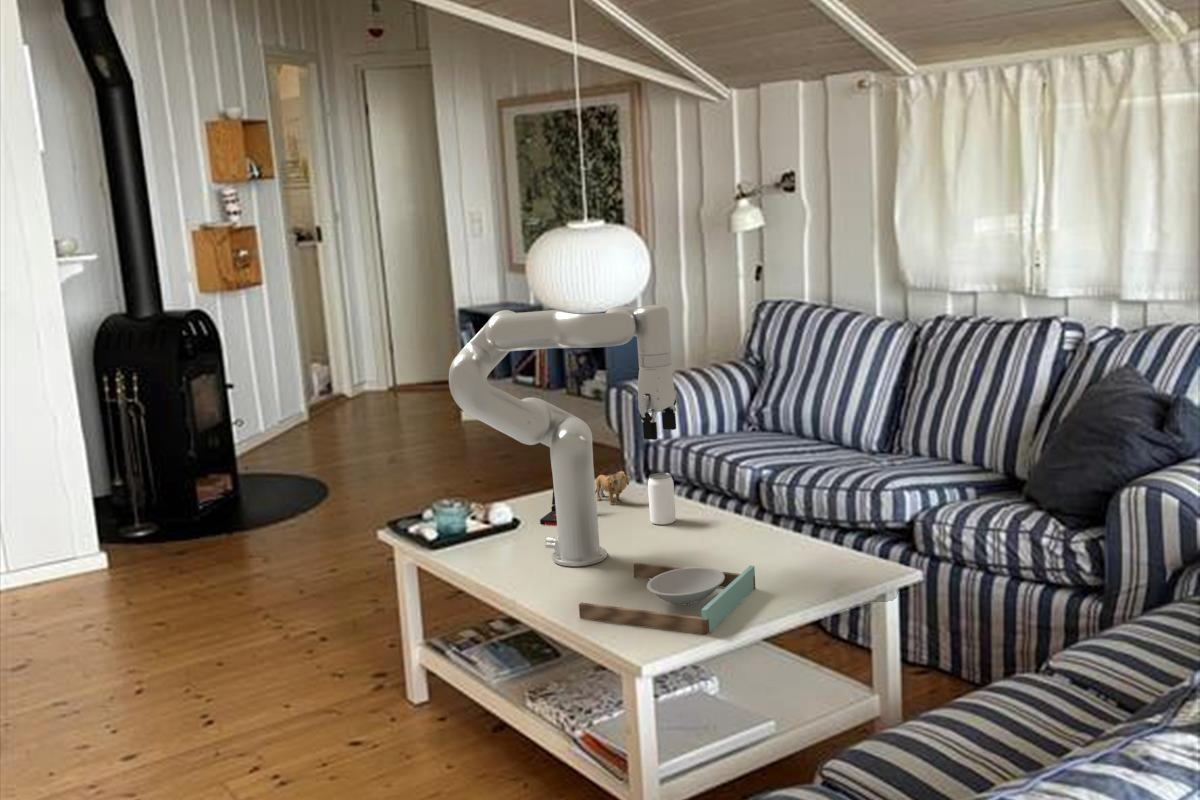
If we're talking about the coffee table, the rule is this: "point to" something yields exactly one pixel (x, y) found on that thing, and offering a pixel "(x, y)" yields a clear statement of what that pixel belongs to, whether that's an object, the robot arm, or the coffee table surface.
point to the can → (661, 499)
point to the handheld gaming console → (550, 514)
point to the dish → (686, 584)
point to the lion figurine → (612, 485)
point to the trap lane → (711, 614)
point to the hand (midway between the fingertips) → (660, 434)
